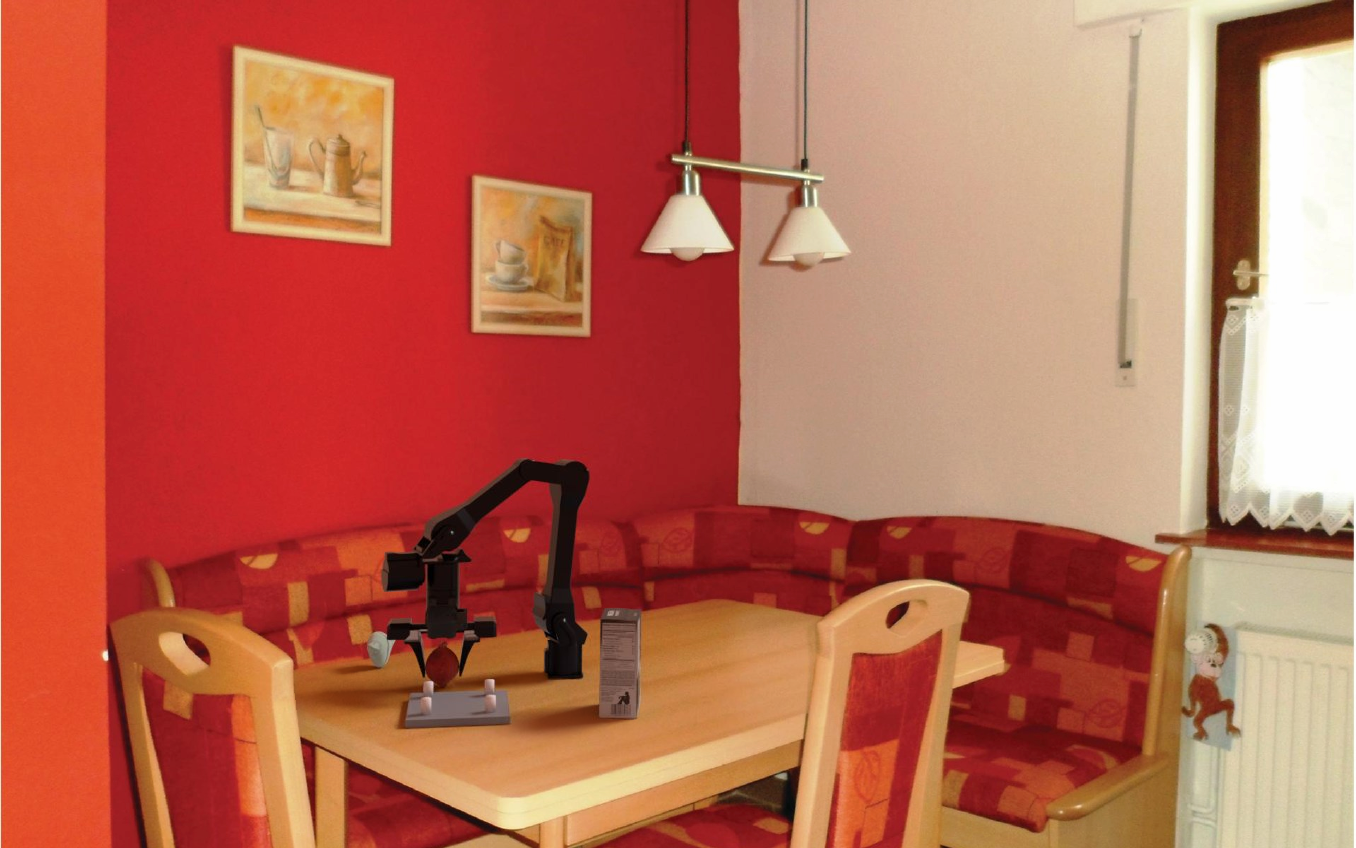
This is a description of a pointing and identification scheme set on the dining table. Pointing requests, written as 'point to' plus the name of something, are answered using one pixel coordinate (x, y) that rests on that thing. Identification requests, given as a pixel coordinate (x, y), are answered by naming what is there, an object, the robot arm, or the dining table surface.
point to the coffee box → (620, 663)
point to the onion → (442, 665)
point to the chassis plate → (457, 707)
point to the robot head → (379, 648)
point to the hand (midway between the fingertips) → (442, 676)
